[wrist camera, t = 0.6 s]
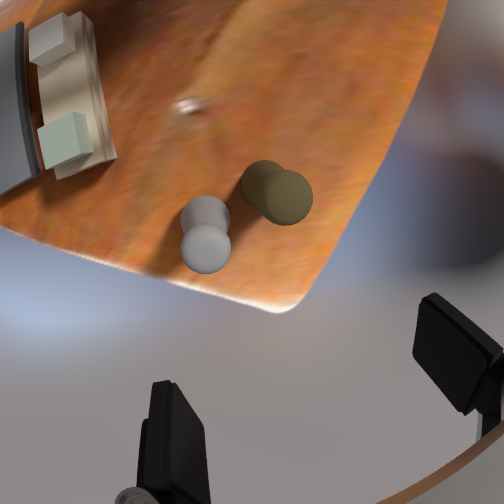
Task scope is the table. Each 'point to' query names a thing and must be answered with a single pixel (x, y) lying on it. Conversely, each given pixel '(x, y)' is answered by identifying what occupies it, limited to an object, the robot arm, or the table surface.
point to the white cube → (51, 40)
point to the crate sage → (65, 140)
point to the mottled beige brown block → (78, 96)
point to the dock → (15, 114)
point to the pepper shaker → (277, 192)
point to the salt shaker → (205, 234)
